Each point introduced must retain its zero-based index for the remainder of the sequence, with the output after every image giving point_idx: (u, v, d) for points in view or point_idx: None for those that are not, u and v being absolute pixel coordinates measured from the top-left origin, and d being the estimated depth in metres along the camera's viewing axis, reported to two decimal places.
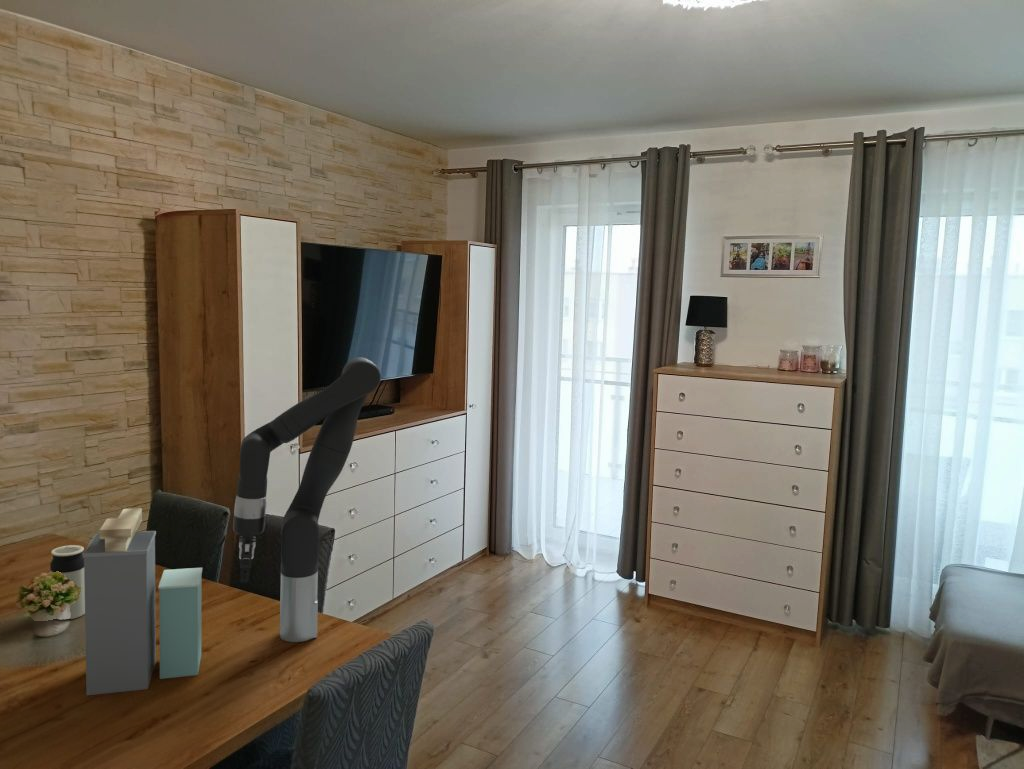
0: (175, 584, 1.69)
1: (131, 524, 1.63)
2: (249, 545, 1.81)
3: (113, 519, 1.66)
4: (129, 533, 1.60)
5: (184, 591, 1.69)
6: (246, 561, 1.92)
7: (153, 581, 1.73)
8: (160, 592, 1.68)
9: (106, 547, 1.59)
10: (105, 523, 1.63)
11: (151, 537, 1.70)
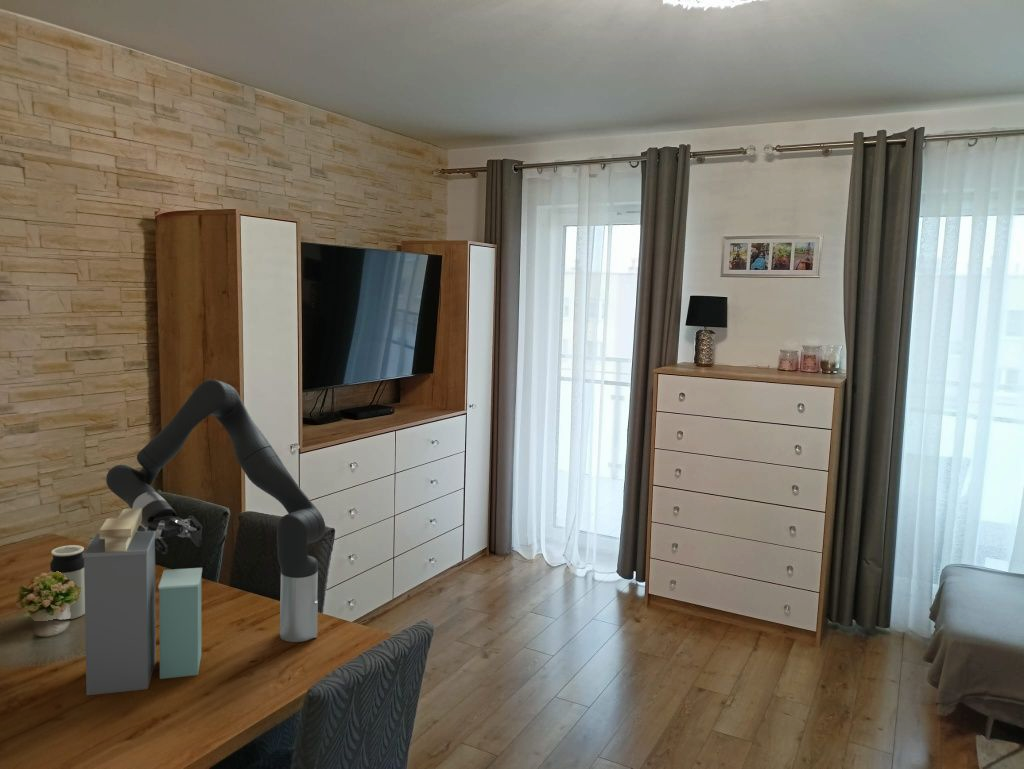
0: (175, 584, 1.69)
1: (131, 524, 1.63)
2: None
3: (113, 519, 1.66)
4: (129, 533, 1.60)
5: (184, 591, 1.69)
6: (194, 538, 1.81)
7: (153, 581, 1.73)
8: (160, 592, 1.68)
9: (106, 547, 1.59)
10: (105, 523, 1.63)
11: (151, 537, 1.70)
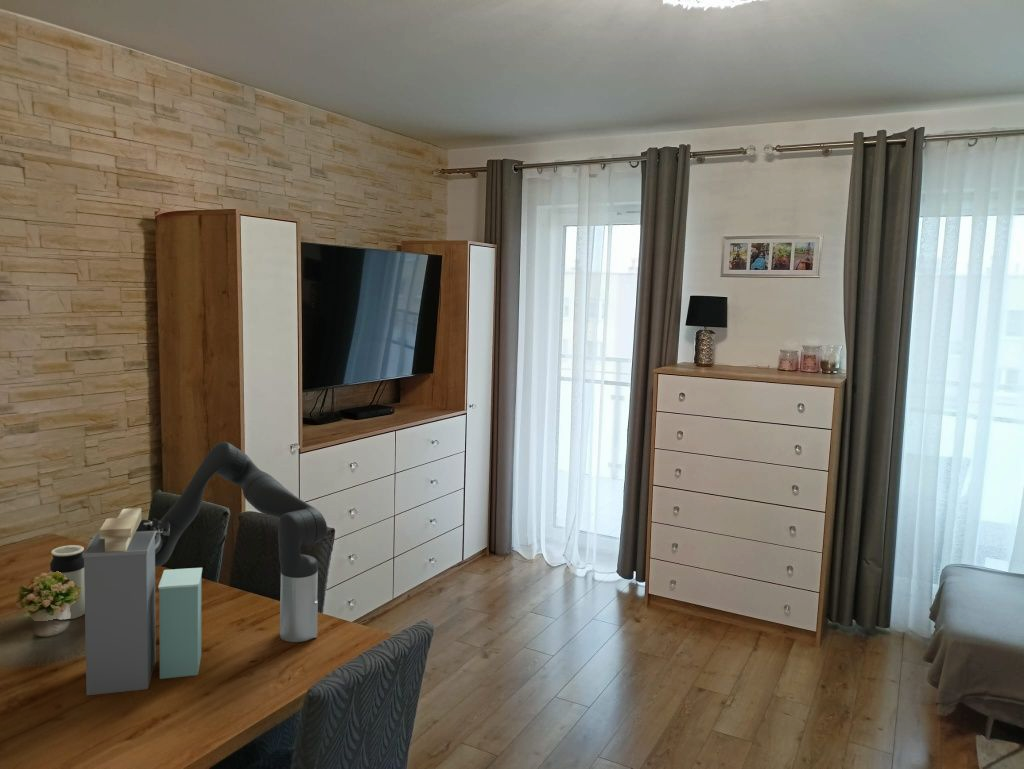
0: (175, 584, 1.69)
1: (131, 524, 1.63)
2: None
3: (112, 519, 1.66)
4: (129, 533, 1.60)
5: (184, 591, 1.69)
6: None
7: (153, 581, 1.73)
8: (160, 592, 1.68)
9: (106, 547, 1.59)
10: (105, 523, 1.63)
11: (151, 537, 1.70)
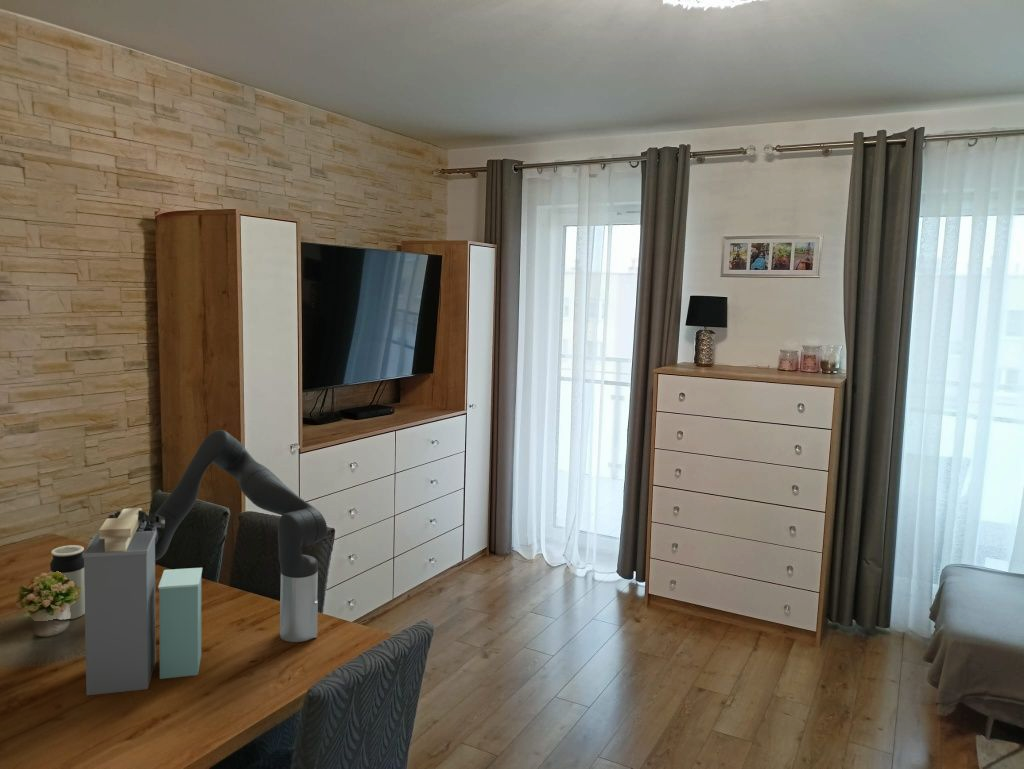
0: (175, 584, 1.69)
1: (131, 524, 1.63)
2: None
3: (112, 519, 1.66)
4: (129, 533, 1.60)
5: (184, 591, 1.69)
6: None
7: (153, 581, 1.73)
8: (160, 592, 1.68)
9: (106, 547, 1.59)
10: (105, 523, 1.63)
11: (151, 537, 1.70)
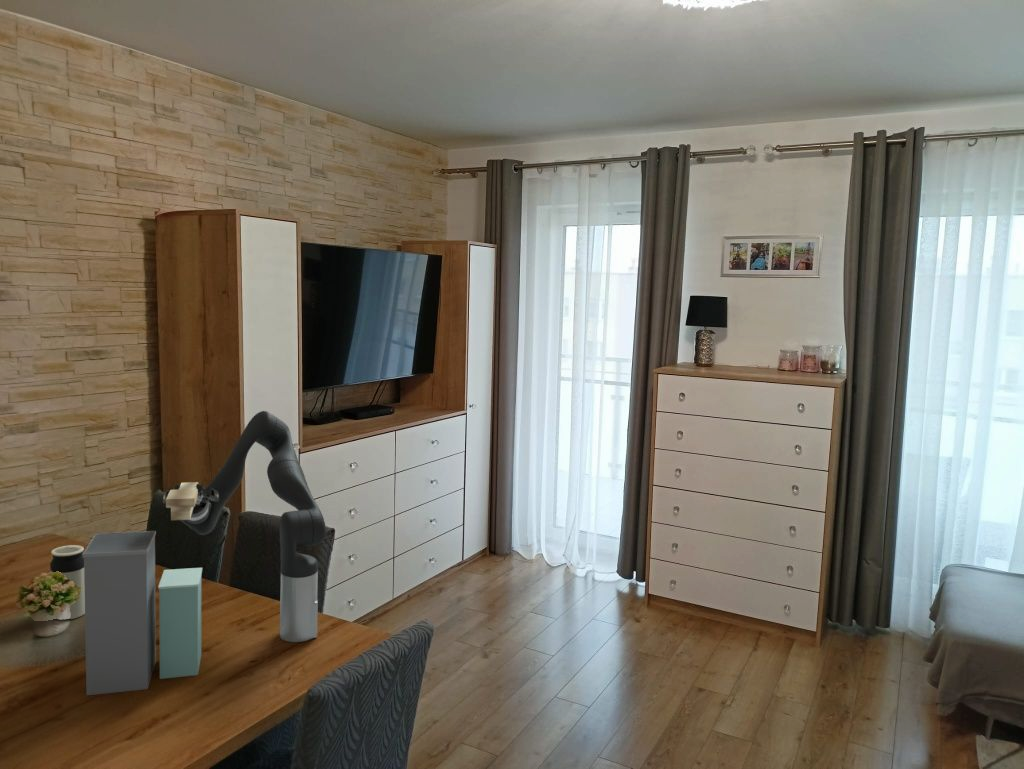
0: (175, 584, 1.69)
1: (194, 494, 1.74)
2: None
3: (176, 490, 1.77)
4: (193, 502, 1.71)
5: (184, 591, 1.69)
6: None
7: (153, 581, 1.73)
8: (160, 592, 1.68)
9: (172, 515, 1.70)
10: (170, 493, 1.74)
11: (151, 537, 1.70)
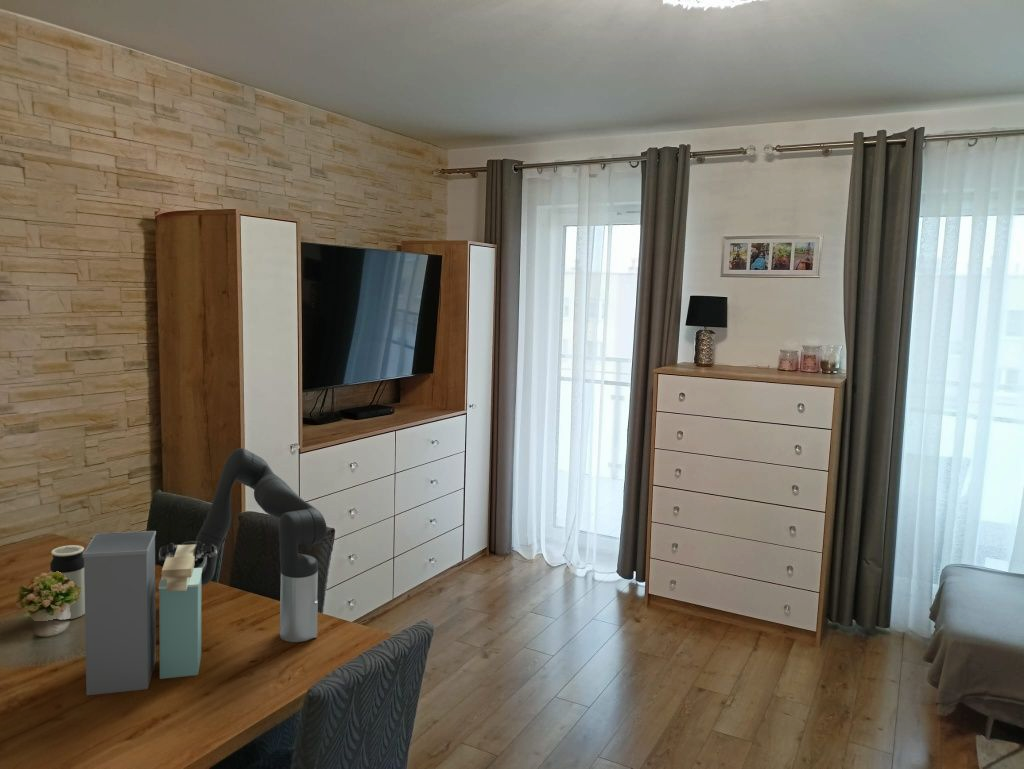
0: None
1: (191, 563, 1.68)
2: None
3: (172, 558, 1.71)
4: (190, 573, 1.66)
5: (184, 591, 1.69)
6: None
7: (153, 581, 1.73)
8: (160, 592, 1.68)
9: (168, 587, 1.65)
10: (165, 563, 1.68)
11: (151, 537, 1.70)
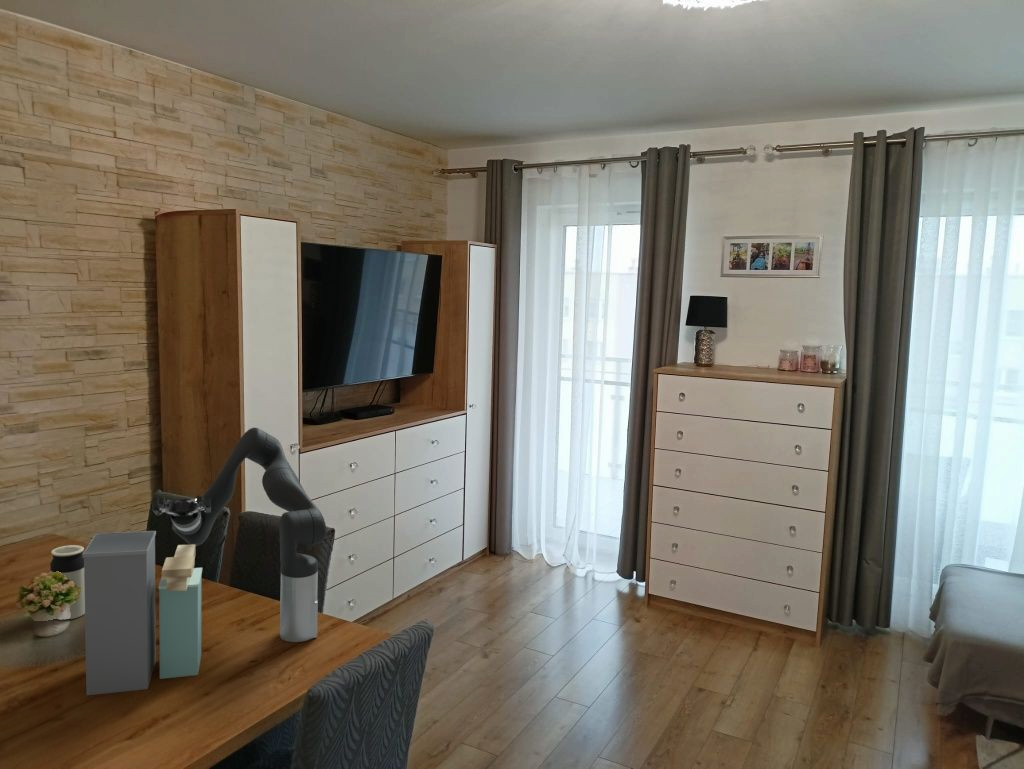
0: None
1: (191, 563, 1.68)
2: None
3: (172, 558, 1.71)
4: (190, 573, 1.66)
5: (184, 591, 1.69)
6: None
7: (153, 581, 1.73)
8: (160, 592, 1.68)
9: (168, 587, 1.65)
10: (165, 563, 1.68)
11: (151, 537, 1.70)
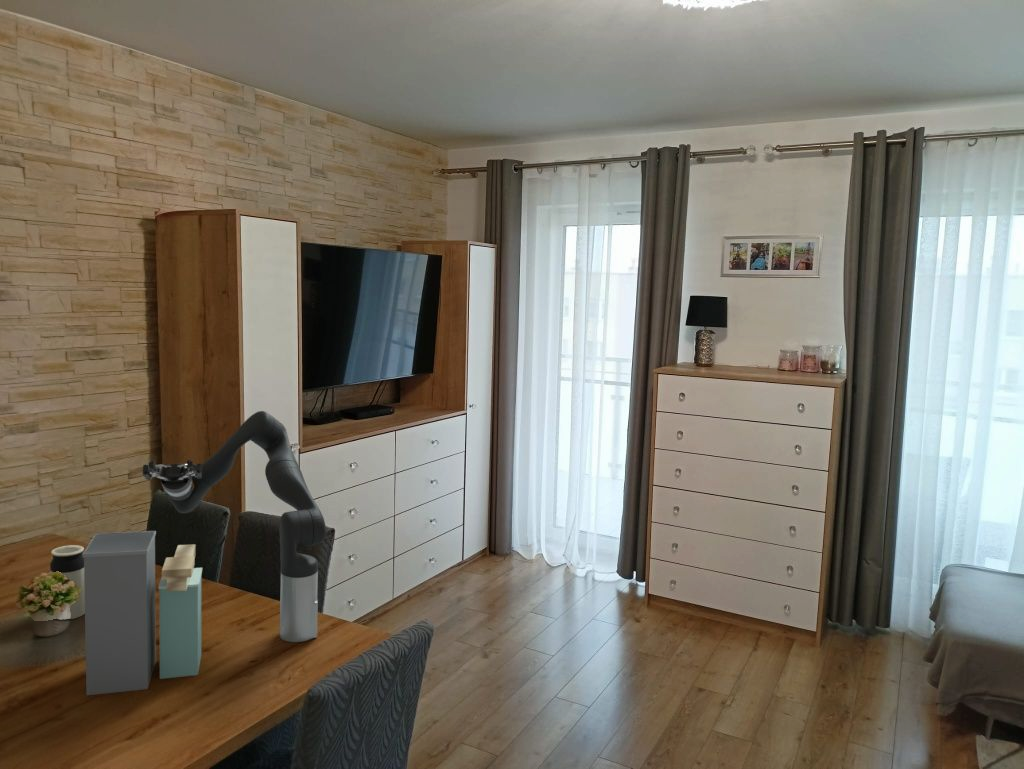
0: None
1: (191, 563, 1.68)
2: None
3: (172, 558, 1.71)
4: (190, 573, 1.66)
5: (184, 591, 1.69)
6: None
7: (153, 581, 1.73)
8: (160, 592, 1.68)
9: (168, 587, 1.65)
10: (165, 563, 1.68)
11: (151, 537, 1.70)
